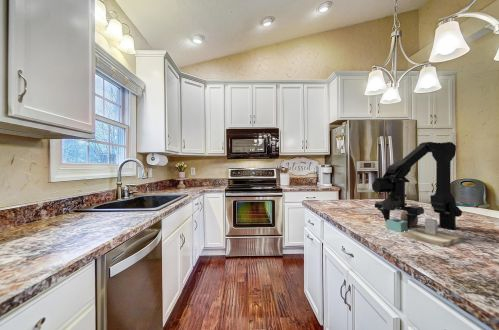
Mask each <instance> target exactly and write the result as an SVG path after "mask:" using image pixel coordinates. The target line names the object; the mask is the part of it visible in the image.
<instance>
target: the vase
mask: <svg viewBox="0 0 499 330" xmlns="http://www.w3.org/2000/svg"><path fill="white" fill-rule="evenodd" d="M406 214H408V213H407V211H404V210H402V212H401V214H400V220H404V221H407V215H406ZM418 216H419V215H418ZM418 216H417V217H416V218H415V220H414V222H413V224H412V225H411V227H410V228H414V227H415V226H417V225H418V223H419V217H418Z"/></svg>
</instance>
